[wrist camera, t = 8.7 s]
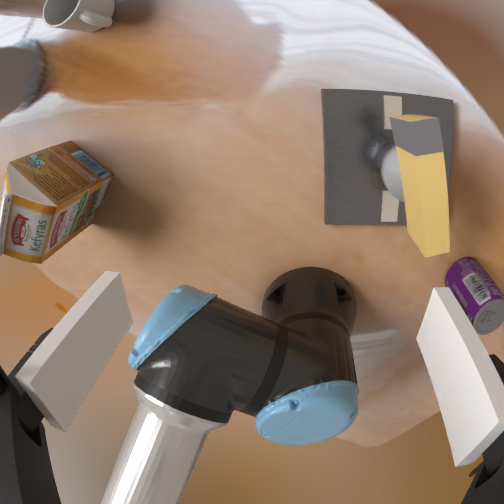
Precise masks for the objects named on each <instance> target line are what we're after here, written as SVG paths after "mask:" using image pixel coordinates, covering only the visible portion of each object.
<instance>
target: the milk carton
mask: <svg viewBox="0 0 504 504" xmlns="http://www.w3.org/2000/svg"><path fill="white" fill-rule="evenodd" d="M113 177H114V174H113V173H112V172H110V171H109V170H108V169H106V168H105V167H104V166H102V165H101V164H100V163H98V162H97V161H96V160H94V159H93V158H92V157H91V156H89V155H88V154H87V153H85V152H84V151H83V150H81V149H80V148H79V147H78V146H76V145H75V144H74V143H72V142H71V141H68V142H64V143H61V144H58V145H55V146H52V147H49V148H46V149H43V150H41V151H38V152H35V153H32V154H30V155H27V156H24V157H22V158H19V159H16V160H14V161H11V162H9V164H8V168H7V172H6V177H5V182H4V187H3V192H2V197H1V203H0V256H1V255H2V254H5V255H8V256H10V257H13V258H16V259H20V260H23V261H27V262H31V263H40V264H42V263H43V262H44V261H45V260H46V259H48V258H49V257H50V256H51V255H52V254H54V253H55V252H56V251H57V250H59V249H60V248H61V247H62V246H64V245H65V244H66V243H67V242H69V241H70V240H71V239H72V238H74V237H75V236H76V235H78V234H79V233H80V232H82V231H83V230H84V229H86V228H87V227H88V226H90V225H91V224H92V222H93V220H94V218H95V215H96V213H97V211H98V209H99V206H100V204H101V202H102V200H103V198H104V195H105V193H106V191H107V189H108V187H109V185H110V183H111V181H112V179H113Z"/></svg>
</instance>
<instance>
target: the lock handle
mask: <svg viewBox="0 0 504 504" xmlns="http://www.w3.org/2000/svg"><path fill="white" fill-rule="evenodd" d="M389 118H390V123H391V127H392V132H393V137H394V142H395V146H394V147H392V148H391V149H390V150H389V151H388V152H387V153H386V154H385V156H384V158H383V160H382V164H381V177H382V181H383V183H384V185H385V187H386V188H387V189H388V190H389V191H390V192H391V194H392V195H393V196H394V197H395V198H397V199H398V200H400V201H402V202H405V210H406V220H407V230H408V233H409V235H410V236H411V238H412V239H413V241H414V242H415V243H416V245H417V246H418V248H419V249H420V251H421V252H422V254H423V255H424V257H425V258H426V257H430V256H435V255H439V254H443V253H447V252H450V239H449V207H448V192H447V180H446V170H445V161H444V153H443V152H444V148H443V141H442V135H441V129H440V123H439V118H437V117H432V116H427V115H421V114H416V113H413V114H406V115H399V116H393V117H389Z"/></svg>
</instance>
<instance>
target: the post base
mask: <svg viewBox="0 0 504 504" xmlns="http://www.w3.org/2000/svg"><path fill="white" fill-rule="evenodd" d="M321 97H322V115H323V140H324V221H325V224H397V225H407V220H406V210H405V202H402V201H400V200H398V199H397V198H395V197H394V196H393V195H392V194H391V192H390V191H389V190H388V189H387V188H386V187H385V185H384V183H383V181H382V177H381V164H382V160H383V158H384V156H385V154H386V153H387V152H388V151H389V150H390V149H391V148H392V147H394V146H395V142H394V137H393V132H392V127H391V123H390V118H389V117H393V116H399V115H406V114H413V113H416V114H421V115H427V116H432V117H437V118H439V123H440V129H441V135H442V141H443V148H444V152H443V153H444V161H445V170H446V180H447V192H448V191H449V182H450V171H451V158H452V140H453V100H450V99H443V98H437V97H430V96H423V95H415V94H406V93H396V92H385V91H371V90H351V89H321Z"/></svg>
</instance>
